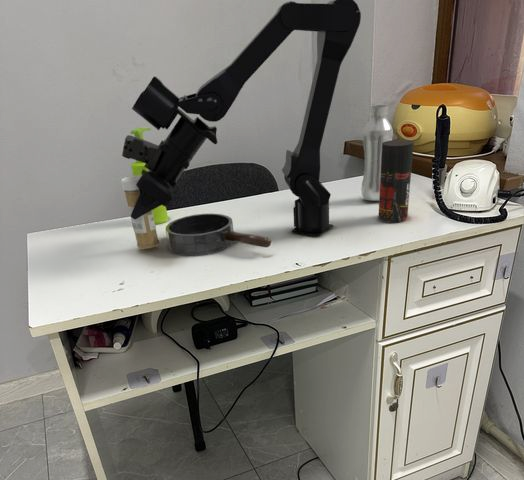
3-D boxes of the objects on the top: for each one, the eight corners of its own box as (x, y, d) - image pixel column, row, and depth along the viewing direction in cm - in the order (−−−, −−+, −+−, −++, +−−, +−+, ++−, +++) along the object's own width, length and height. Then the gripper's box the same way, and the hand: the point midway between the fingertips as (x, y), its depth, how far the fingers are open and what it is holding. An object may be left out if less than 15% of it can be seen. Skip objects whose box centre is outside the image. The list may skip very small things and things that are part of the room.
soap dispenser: (174, 215, 117) (158, 125, 106) (160, 225, 112) (142, 131, 101) (153, 214, 119) (135, 126, 108) (138, 224, 114) (118, 131, 103)
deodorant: (379, 213, 106) (383, 140, 98) (407, 214, 105) (413, 139, 97) (377, 222, 101) (381, 146, 93) (406, 223, 100) (413, 145, 92)
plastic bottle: (392, 202, 112) (398, 106, 101) (363, 204, 112) (366, 109, 102) (386, 195, 118) (392, 103, 107) (358, 197, 118) (361, 105, 107)
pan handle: (274, 245, 90) (273, 236, 89) (267, 249, 89) (266, 240, 88) (226, 237, 96) (225, 228, 95) (219, 240, 95) (218, 232, 94)
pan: (232, 228, 106) (230, 210, 103) (236, 250, 94) (234, 230, 92) (170, 235, 105) (167, 217, 103) (167, 259, 94) (163, 239, 91)
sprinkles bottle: (164, 244, 98) (149, 175, 91) (144, 251, 96) (128, 181, 89) (151, 239, 101) (137, 173, 94) (132, 246, 99) (116, 178, 92)
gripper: (146, 111, 94) (104, 176, 99) (136, 124, 78) (87, 201, 84) (194, 149, 99) (151, 210, 104) (193, 169, 83) (143, 239, 88)
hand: (134, 214), depth 95 cm, fingers closed on sprinkles bottle, 4 cm apart
